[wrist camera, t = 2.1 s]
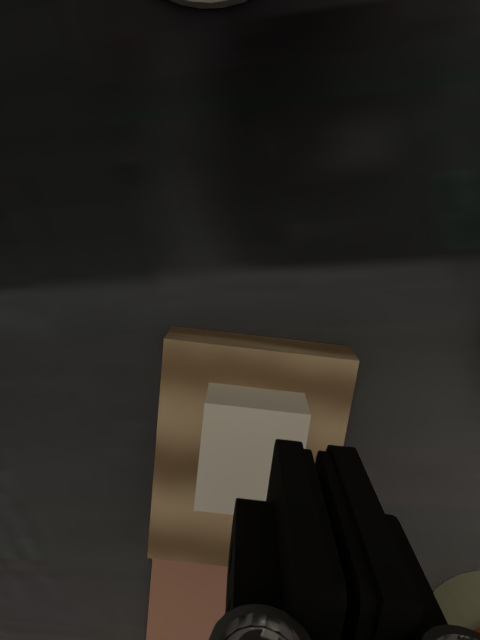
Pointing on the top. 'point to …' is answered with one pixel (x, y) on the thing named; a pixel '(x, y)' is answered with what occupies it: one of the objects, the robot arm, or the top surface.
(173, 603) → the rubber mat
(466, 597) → the reusable coffee cup
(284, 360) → the oak board
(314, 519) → the robot arm
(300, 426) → the cream block
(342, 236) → the top surface
